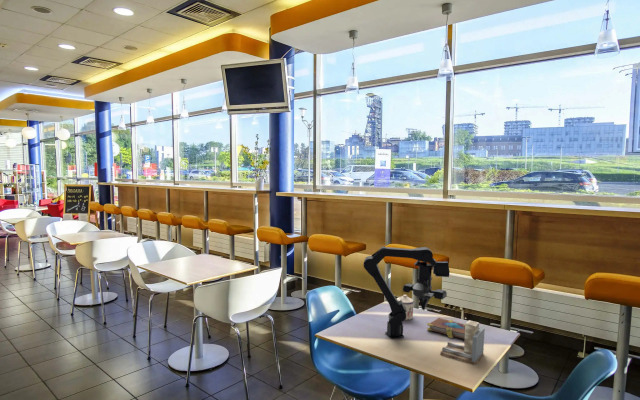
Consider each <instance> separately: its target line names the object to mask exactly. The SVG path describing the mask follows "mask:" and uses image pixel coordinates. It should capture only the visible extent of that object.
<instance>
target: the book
mask: <svg viewBox="0 0 640 400" xmlns="http://www.w3.org/2000/svg"><path fill="white" fill-rule="evenodd" d="M465 324H466V323H460V322H457V321H454V320H453V319H450V320H448V319H446V318H445V319H444V318H440V317H438V318H436V319H434V320H433V321H431V322H427V324H426V325H427V326H428V327H427V328H426V330H427V331H433V332H436V333H440V334H444V335H447V338H449V339H453V338H454V337H455V338H458V339H461V340H462V339H463V340H465ZM480 328H481V327H479V329H480Z"/></svg>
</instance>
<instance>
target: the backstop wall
mask: <svg viewBox="0 0 640 400" xmlns="http://www.w3.org/2000/svg"><path fill="white" fill-rule="evenodd" d="M479 328H480V329H479V330H478V331H477V332H476V333H475V335H474V336H473V343H472V361H473V362H476V361H477V360H478V358H479V357H480V356H481V354H482V353H483V354H484V352H485V351H484V348H485V347H484V345H485V328H484V327H479ZM481 357H482V356H481Z"/></svg>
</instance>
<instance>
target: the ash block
mask: <svg viewBox="0 0 640 400" xmlns="http://www.w3.org/2000/svg"><path fill="white" fill-rule="evenodd" d="M464 324H465V339H464V344H463V346H464V353H467V354H471V355H472V343H473V336H474V335H475V333H476V332H477V331H478V330H479V328H480V327H479V326H480V322H478V321H473V320H470V319H469V320H467V321H466V322H465V323H464Z"/></svg>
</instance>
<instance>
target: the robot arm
mask: <svg viewBox="0 0 640 400" xmlns="http://www.w3.org/2000/svg"><path fill="white" fill-rule="evenodd" d="M385 257H390V258H391V257H392V258H404V259H405V258H406V259H412V260H415V262H414V266H415V267H418V273H417V274H418V275H417V278H416V283H415V284H414V283H409V282H407V283H406V284H404V285H403V286H402V292H405V293H408V294H409V293H410V292H411V291H412V294H413V295H414V296H416V297H417V298H418V301H419V303H420V307H421V310H423V311H425V310H426V308H427V307H428V306H427V305H428V303H429V302H430V299H432V298H434V299H436V300H437V299H438V300H444V299H446V298H447V295H448V293H447V291H446V290H445V289H439V288H437V289H435V290H433V288H432V287H433V286H432V281H433V277H432V275H434V276H435V278H437V277H439V278H449V277H450V272H451V271H450V267H449V265H450V263H449V262H448V261H436V259H435V258H434V254H433V252H432V250H431V249H430V248H429V247H427V246H425V247H424V246H422V247H416V248H404V247H403V248H402V247H388V246H381V247H379V249H378V250H376V251H375V252H374V253H373V254H371V255H368V256H366V257H365V258H364V261H363V268H364V270H365V271H366V272H367V273H368V274H369V275H370V276H371V277H372V278H373V279H374V281H375V283H376V284H377V286H378V287H379V290H380V292H381V293H382V294H383V296H384V298H385V300H386V302H387V303H388V305H389V307H390V313H388V321H387V323H386V326H387V327H386V331H385V332H384V333H385V335H387V336H388V337H390V338H391V339H399V338H404V337H405V335H404V324H403V321H406V320H405V319H406V312H407V311H406V306H404V305H403V303H402V300H400V301H398V300H397V298H396V296H395V295H394V293H393V292H392V290H391V288H390V286H389V284H388V282H387V281H386V279H385V278H384V276H383V275H382V273H381V270H380V267H379V263H381V261H383V260H384V258H385Z"/></svg>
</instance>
